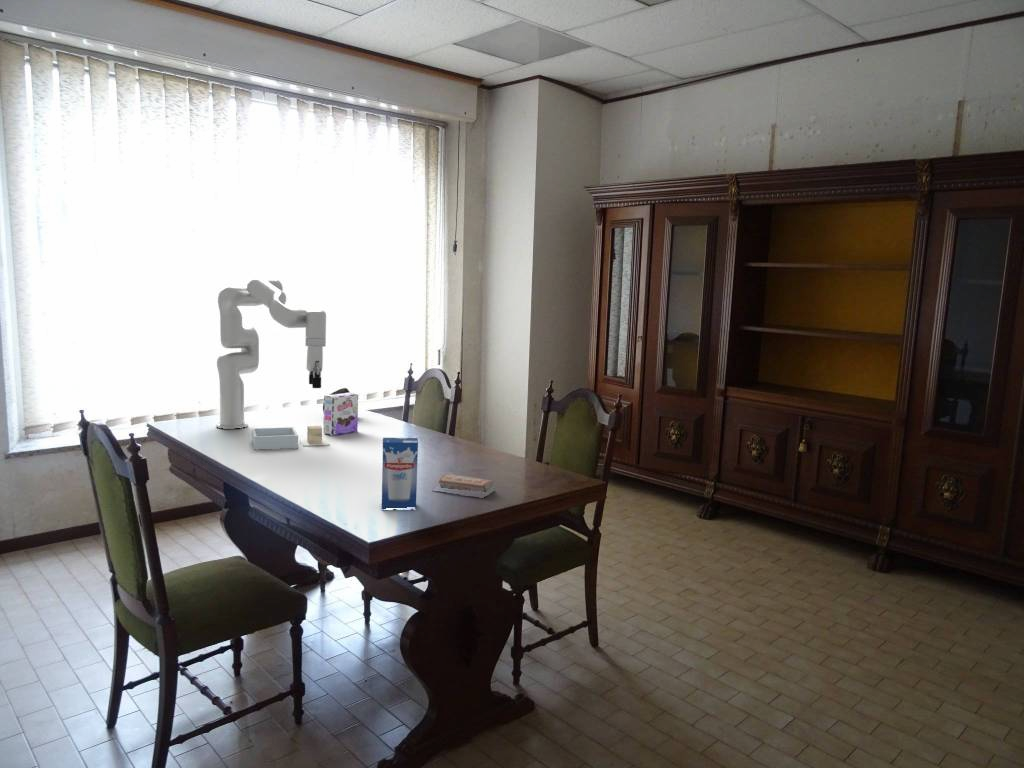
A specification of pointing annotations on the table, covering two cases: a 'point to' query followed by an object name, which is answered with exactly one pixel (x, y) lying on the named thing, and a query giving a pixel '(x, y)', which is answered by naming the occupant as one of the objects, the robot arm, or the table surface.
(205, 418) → the table surface
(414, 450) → the milk carton
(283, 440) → the square storage bin
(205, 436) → the table surface
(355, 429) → the candy box
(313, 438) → the birch block
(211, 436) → the table surface
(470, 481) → the packaged product
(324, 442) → the mat
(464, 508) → the table surface
